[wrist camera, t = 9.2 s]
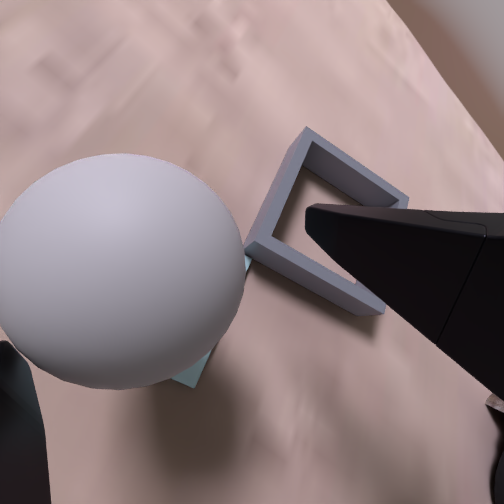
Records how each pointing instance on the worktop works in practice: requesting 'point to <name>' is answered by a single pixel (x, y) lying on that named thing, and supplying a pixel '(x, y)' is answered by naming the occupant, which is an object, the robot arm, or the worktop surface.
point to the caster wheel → (503, 473)
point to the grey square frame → (345, 179)
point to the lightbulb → (118, 271)
